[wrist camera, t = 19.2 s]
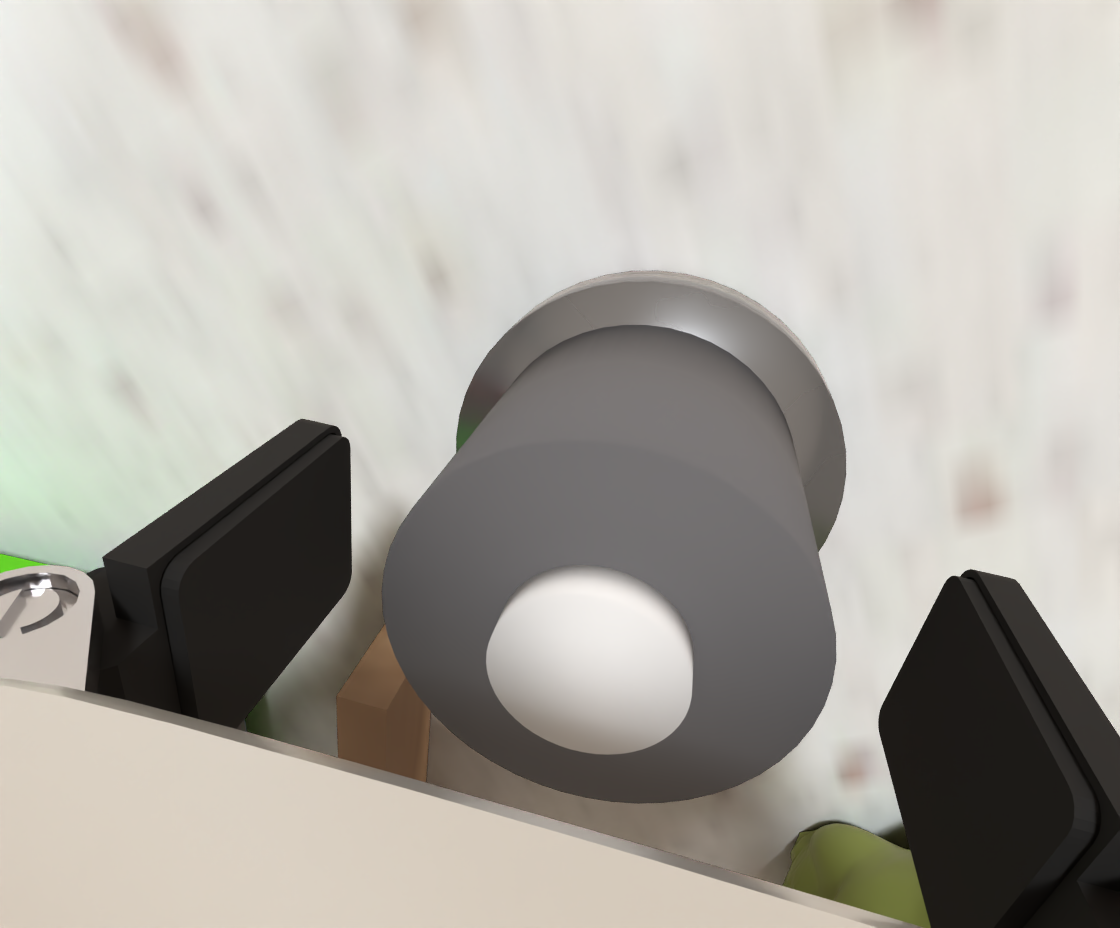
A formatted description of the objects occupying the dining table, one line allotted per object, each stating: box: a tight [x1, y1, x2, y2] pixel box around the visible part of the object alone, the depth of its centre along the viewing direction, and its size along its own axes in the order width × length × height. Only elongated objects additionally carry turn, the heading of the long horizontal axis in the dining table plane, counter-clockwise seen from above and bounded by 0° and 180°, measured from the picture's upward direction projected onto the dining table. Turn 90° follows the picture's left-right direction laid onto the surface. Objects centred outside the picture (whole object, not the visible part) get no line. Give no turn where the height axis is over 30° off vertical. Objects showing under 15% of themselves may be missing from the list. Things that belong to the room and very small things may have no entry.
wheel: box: [382, 325, 836, 803], centre depth 11 cm, size 6×6×6 cm
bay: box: [336, 624, 431, 782], centre depth 21 cm, size 19×15×3 cm
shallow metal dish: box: [456, 271, 846, 552], centre depth 14 cm, size 8×8×1 cm
